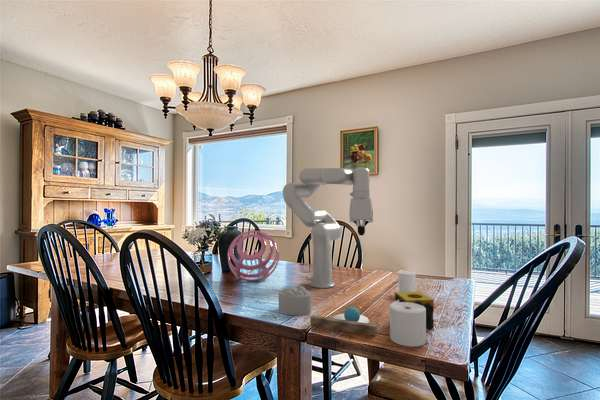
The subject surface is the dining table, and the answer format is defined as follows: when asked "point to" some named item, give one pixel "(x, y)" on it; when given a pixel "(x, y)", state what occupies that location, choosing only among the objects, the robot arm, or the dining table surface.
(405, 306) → the toilet tissue
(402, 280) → the white cup
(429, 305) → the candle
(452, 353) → the dining table surface
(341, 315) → the disc
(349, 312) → the ball
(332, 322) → the stopper rail
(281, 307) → the lumpy-topped squat cylinder
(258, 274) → the spiral basket
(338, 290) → the dining table surface
